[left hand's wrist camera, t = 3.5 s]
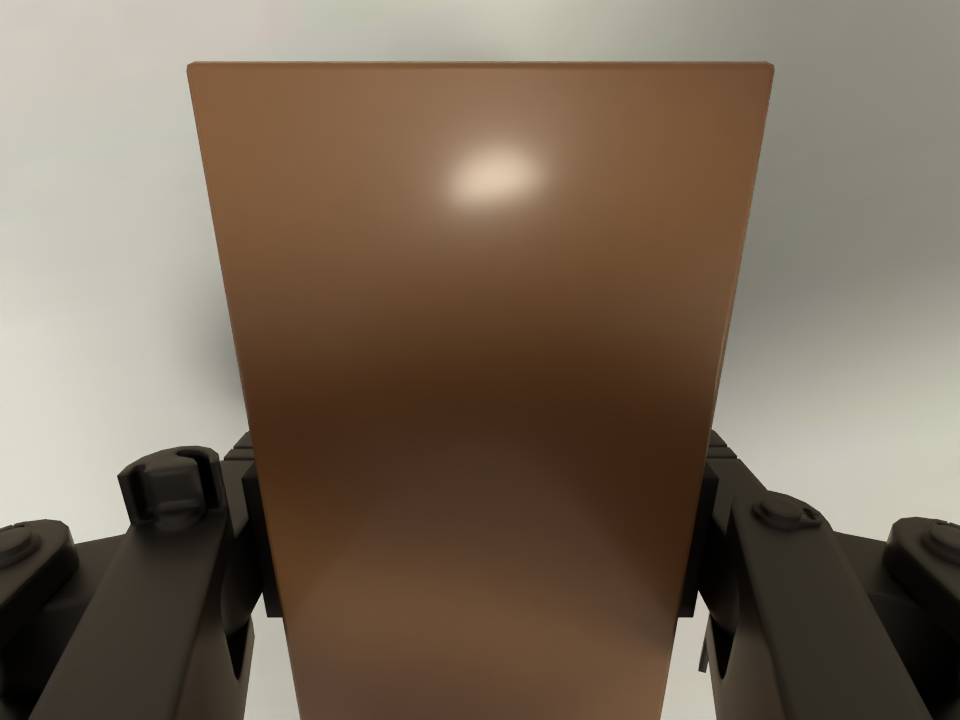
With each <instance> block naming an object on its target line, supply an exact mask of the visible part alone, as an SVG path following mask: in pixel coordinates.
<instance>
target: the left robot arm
mask: <svg viewBox="0 0 960 720" xmlns="http://www.w3.org/2000/svg"><path fill="white" fill-rule="evenodd" d="M117 477H118V481H119V484H120V488H121V491H122V495H123V498H124V502H125V505H126V509H127V512H128V516H129V519H130V523H131V525H130V527H129V528H128V530H127V532H126V534H123V535H119V536H114V537H109V538H103V539H98V540H93V541H88V542H83V543H78V544H74V542H73V539H72V536H71V533H70V530H69V527H68V526H67V525H65V524H64V523H63V522H61V521H57V520H47V519H44V520H36V521H28V522H27V521H26V522H21V523H16V524H14V525H13V526H12V525H9V526H6V527H3V528H1V529H0V720H243V719H244V712H245V705H246V697H247V690H248V682H249V675H250V668H251V660H252V653H253V645H254V638H255V636H254V628H253V622H252V617H251V613H252V611H253V609H254V607H255V605H256V603H257V601H258V599H259V597H260V595H261V593H262V592H263V597H264V603H265V608H266V613H267V617H282V612H281V606H280V600H279V595H278V589H277V583H276V578H275V572H274V566H273V560H272V555H271V549H270V543H269V538H268V532H267V526H266V521H265V515H264V509H263V503H262V498H261V492H260V486H259V481H258V475H257V469H256V464H255V458H254V452H253V447H252V441H251V435H250V431H248V432H247V433H245V434H244V435H243V437H242V438H241V439H240V440H239V441H238V442H237V443H236V444H235V446H234V449H231V450H230V451H229V452H228V454H227V455H226V456H225V457H224V461H220V460H219V455H218V453H216V452H215V451H214V450H212V449H211V448H207V447H201V446H180V447H175V448H171V449H166V450H161V451H158V452H155V453H153V454H150V455H147V456H144V457H142V458H140V459H139V460H137V461H135V462H133V463H131V464H130V465H128V466H127V467H126V468H125V469H124V470H123V471H121V472H120V473H119V474H118V475H117ZM698 590H699V592H700V594H701V596H702V598H703V600H704V602H705V603H706V605H707V607H708V609H709V611H710V612H709V617H708V622H707V627H706V632H705V637H704V642H703V647H702V652H701V657H700V663H699V670H698V671H700V672H704V673H706V669H707V664H708V661H709V666H710V674H711V681H712V688H713V696H714V703H715V711H716V718H717V720H960V526H959V525H956V524H953V523H947V521H942V520H938V519H928V518H921V517H910V518H901V519H900V520H898V521H897V522H895V523H894V524H893V525H892V528H891V531H890V534H889V537H888V540H887V542H884V541H879V540H874V539H869V538H864V537H859V536H854V535H849V534H843V533H839V532H835V531H833V529H832V527H831V526H830V524H829V522H828V521H827V520H826V519H825V518H824V516H823V515H822V514H821V513H820V512H819V511H817V510H816V509H814V508H813V507H811V506H810V505H808V504H807V503H805V502H803V501H801V500H798V499H796V498H794V497H791V496H789V495H786V494H782V493H777V492H773V491H768V490H767V489H766V488H765V487H764V486H763V485H762V483H761V482H760V481H759V480H758V479H757V478H756V477H755V476H754V474H753V473H752V472H751V471H750V470H749V469H748V468H747V467H746V465H745V464H744V463H743V462H742V461H741V460H740V459H737V455H736V454H735V453H734V452H733V451H732V450H731V449H730V448H729V447H727V444H726V443H725V442H724V441H723V440H722V439H721V437H720V436H719V435H718V434H717V433H716V432H715V431H714V430H712V429H711V434H710V439H709V445H708V451H707V456H706V462H705V468H704V473H703V479H702V485H701V490H700V496H699V502H698V507H697V513H696V519H695V524H694V530H693V536H692V541H691V547H690V553H689V558H688V564H687V570H686V575H685V581H684V587H683V592H682V598H681V604H680V609H679V615H678V617H693V615H694V610H695V605H696V599H697V594H698Z"/></svg>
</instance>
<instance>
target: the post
mask: <svg viewBox="0 0 960 720" xmlns="http://www.w3.org/2000/svg"><path fill="white" fill-rule="evenodd" d="M187 76H188V82H189V88H190V93H191V99H192V105H193V110H194V116H195V122H196V127H197V133H198V139H199V145H200V150H201V156H202V162H203V167H204V173H205V179H206V184H207V190H208V196H209V202H210V207H211V213H212V219H213V224H214V230H215V236H216V241H217V247H218V253H219V259H220V264H221V270H222V276H223V281H224V287H225V293H226V298H227V304H228V310H229V315H230V321H231V327H232V333H233V338H234V344H235V350H236V355H237V361H238V367H239V372H240V378H241V384H242V390H243V395H244V401H245V407H246V412H247V418H248V424H249V429H250V435H251V441H252V447H253V452H254V458H255V464H256V469H257V475H258V481H259V486H260V492H261V498H262V503H263V509H264V515H265V521H266V526H267V532H268V538H269V543H270V549H271V555H272V560H273V566H274V572H275V578H276V583H277V589H278V595H279V600H280V606H281V612H282V617H283V623H284V629H285V635H286V640H287V646H288V652H289V657H290V663H291V669H292V674H293V680H294V686H295V691H296V697H297V703H298V709H299V714H300V720H660V717H661V712H662V706H663V700H664V695H665V689H666V683H667V678H668V672H669V666H670V661H671V655H672V649H673V643H674V638H675V632H676V626H677V621H678V615H679V609H680V604H681V598H682V592H683V587H684V581H685V575H686V570H687V564H688V558H689V553H690V547H691V541H692V536H693V530H694V524H695V519H696V513H697V507H698V502H699V496H700V490H701V485H702V479H703V473H704V468H705V462H706V456H707V451H708V445H709V439H710V434H711V428H712V422H713V417H714V411H715V405H716V400H717V394H718V388H719V383H720V377H721V371H722V366H723V360H724V354H725V349H726V343H727V337H728V331H729V326H730V320H731V314H732V309H733V303H734V297H735V292H736V286H737V280H738V275H739V269H740V263H741V258H742V252H743V246H744V241H745V235H746V229H747V224H748V218H749V212H750V207H751V201H752V195H753V190H754V184H755V178H756V173H757V167H758V161H759V156H760V150H761V144H762V139H763V133H764V127H765V122H766V116H767V110H768V105H769V99H770V93H771V88H772V82H773V76H774V65H772V64H770V63H768V62H193V63H191V64H189V65H187Z"/></svg>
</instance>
